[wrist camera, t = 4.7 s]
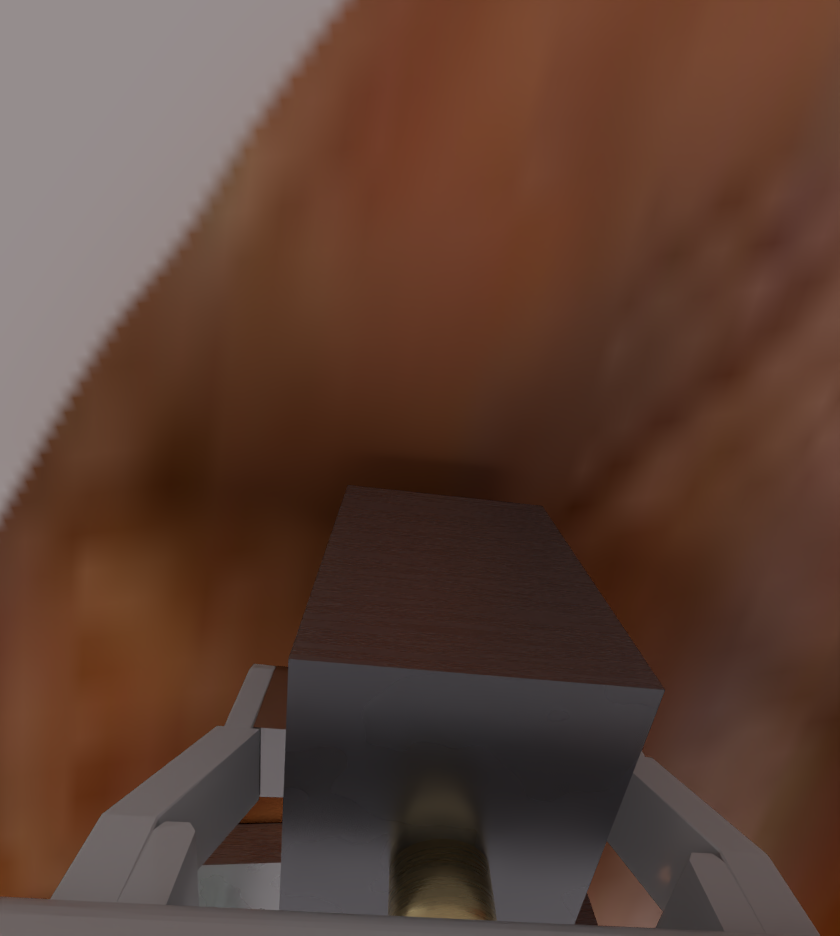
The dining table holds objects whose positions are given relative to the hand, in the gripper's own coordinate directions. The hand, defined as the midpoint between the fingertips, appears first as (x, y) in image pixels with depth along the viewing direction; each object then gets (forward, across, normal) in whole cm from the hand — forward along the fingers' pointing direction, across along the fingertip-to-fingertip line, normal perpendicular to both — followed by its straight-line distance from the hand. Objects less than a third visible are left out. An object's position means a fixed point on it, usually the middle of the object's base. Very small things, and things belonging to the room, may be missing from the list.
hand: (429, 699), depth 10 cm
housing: (+3, 0, 0) cm, 3 cm away
